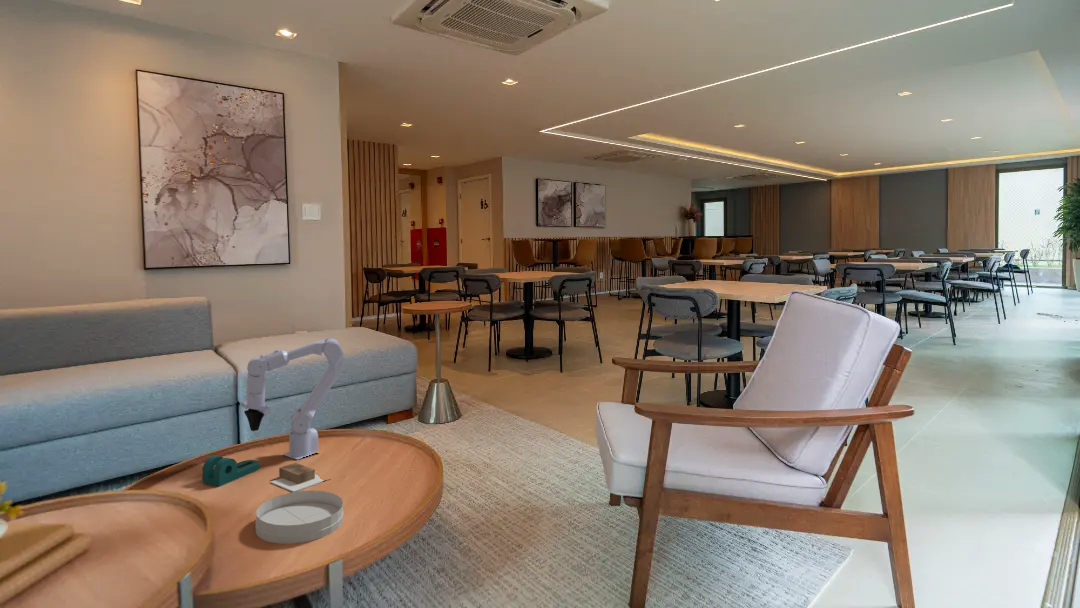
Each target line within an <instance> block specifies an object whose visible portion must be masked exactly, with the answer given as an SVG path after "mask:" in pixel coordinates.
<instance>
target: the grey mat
mask: <svg viewBox="0 0 1080 608" xmlns="http://www.w3.org/2000/svg"><path fill="white" fill-rule="evenodd" d="M322 481H324V480H322V479H320V477H319V476H318V475H316V474H315V479H312V480H310V481H307V482H304V483H301V484H296V483H294V482H291V481H289V480H286V479H284V478H281V477H279V479H278V478H276V479H275V480H272V481H270V484H272V485H275V486H277V487H279V488H282V489H284V490H287V491H289V492H290V493H292V492H299V491H303V490H305V489H307V488H310V487H314V486H316V485H319V484H321V483H320V482H322ZM318 483H319V484H318ZM322 483H323V482H322Z"/></svg>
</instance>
